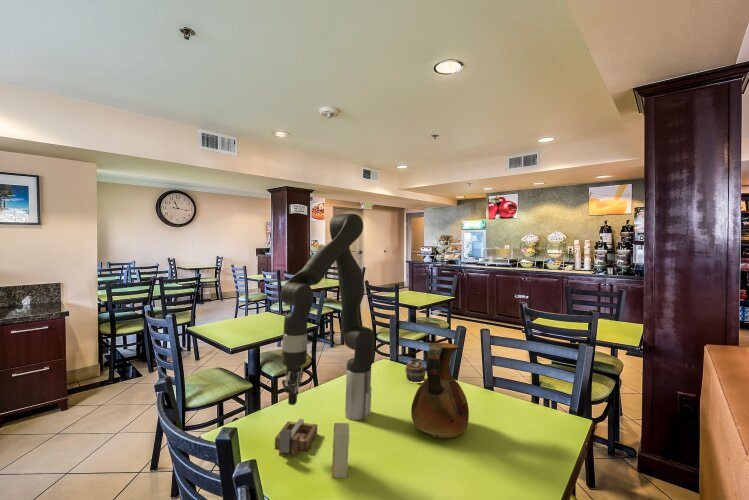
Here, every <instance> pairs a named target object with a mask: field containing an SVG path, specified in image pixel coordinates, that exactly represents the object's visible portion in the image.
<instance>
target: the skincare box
mask: <svg viewBox="0 0 749 500" xmlns="http://www.w3.org/2000/svg"><path fill="white" fill-rule="evenodd" d="M332 435H333V438H332V441H333V442H332V462H331V478H347V477H348V463H349V461H348V460H349V447H350V446H349V444H350V442H349V441H350V424H349V422H334V423H333V434H332Z"/></svg>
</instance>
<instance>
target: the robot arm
mask: <svg viewBox="0 0 749 500" xmlns="http://www.w3.org/2000/svg"><path fill="white" fill-rule="evenodd" d="M363 230H364V222H363V219H362V217H361V216H360V215H358V214H356V213H341V214H339V213H338V214H335V215H333V216H332V217H331V219H330V221H329V235H330V239H331V241H329V242H328V243H326V244H325V245H324V246H323V247H321V248H320V249H318V250H317V251H316V252H315V253H314V254H312V256H311V257H310V258H309V259H308V260H307V262H306V263H305V265H304V266H303V267H302V269H300V270H299V271H297V273H295V274H294V275H292V276H291V277H290V278H289V279H288V280H287V281H286V282H285V283H284V284H283V286H282V287H281V290H280V300H281V302H283V304H285V305H288V306H293V311H292V312H290V313H287V314H286V315H285V317H284V320H283V336H282V342H281V343H282V344H281V345H282V346H281V347H282V348H281V364H282V365H283V366H285V367H286V370H285V379H282V381H281V385H282V386H283V389H284V391H285V393H287V394H288V402H287V404H288V405H290V406H295V405H296V404H297V402H298V391H299V388H300V387H301V385H302V380H303V375H304V371H305V367H303V366H304V365H305V364H306V363H307V360H308V320H309V316H310V314H311V309H312V306H313V303H314V297H315V296H314V291H313V289H312V287H311V286H317V285H319V283H321V281H322V279H323V278H324V277H325V276H326V274H327V273H328V272H329V270H330V268H331V267H332V266H333V264H336V269H337V270H336V271H337V278H338V279H337V280H338V287H339V294H340V301H341V302H340V303H341V312H342V313H341V314H342V335H343V336H342V338H343V343H344V344H345V346H346V347H348V348H349V349H351V350H354V356H353V358H350V359H348V360H347V362H346V374H345V375H346V377H345V378H346V379H345V382H346V383H345V404H344V405H345V409H344V414H345V417H346V418H348V419H349V420H353V421H363V420H369V419H370V415H371V412H372V410H371V409H372V381H371V380H372V365H373V363H374V358H375V349H376V348H375V347H376V337H375V333H374V331H373V330H372V329H371V328H369V327H367V326H363V325H361V321H360V307H361V304H362V302H363V298H364V296H365V291H366V290H365V279H364V274H363V271H362V268H361V267H360V266H359V264H358V262H357V260H356V259H355V257H354V256H353V254H352V252H351V249H350V246H352V244H354V242H355V241H357V239H359V237H360V236H361V235H362V233H363ZM335 262H336V263H335Z"/></svg>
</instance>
